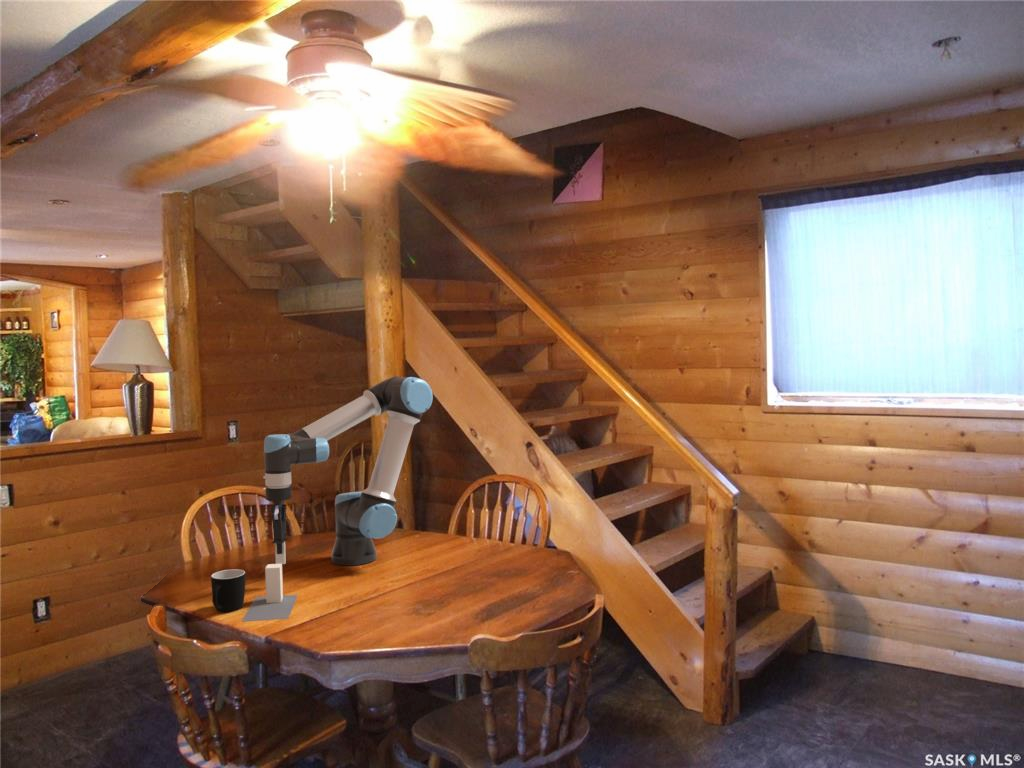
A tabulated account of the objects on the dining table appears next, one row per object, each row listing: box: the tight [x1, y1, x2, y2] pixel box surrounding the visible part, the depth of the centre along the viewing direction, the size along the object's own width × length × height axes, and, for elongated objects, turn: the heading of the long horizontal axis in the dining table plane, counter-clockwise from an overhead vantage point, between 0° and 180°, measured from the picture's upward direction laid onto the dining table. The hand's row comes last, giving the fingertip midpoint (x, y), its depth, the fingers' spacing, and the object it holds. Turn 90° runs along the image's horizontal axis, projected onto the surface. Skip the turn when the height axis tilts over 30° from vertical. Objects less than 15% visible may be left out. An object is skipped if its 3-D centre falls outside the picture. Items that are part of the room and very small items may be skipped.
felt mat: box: [241, 594, 299, 623], centre depth 216 cm, size 12×20×1 cm, turn 8°
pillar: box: [264, 563, 284, 603], centre depth 222 cm, size 4×4×10 cm
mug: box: [210, 568, 246, 613], centre depth 214 cm, size 12×9×10 cm
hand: (280, 563), depth 235 cm, fingers closed
